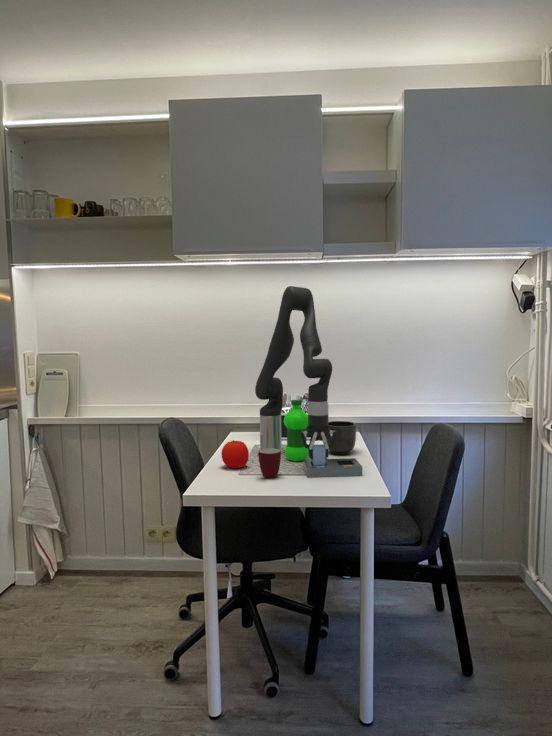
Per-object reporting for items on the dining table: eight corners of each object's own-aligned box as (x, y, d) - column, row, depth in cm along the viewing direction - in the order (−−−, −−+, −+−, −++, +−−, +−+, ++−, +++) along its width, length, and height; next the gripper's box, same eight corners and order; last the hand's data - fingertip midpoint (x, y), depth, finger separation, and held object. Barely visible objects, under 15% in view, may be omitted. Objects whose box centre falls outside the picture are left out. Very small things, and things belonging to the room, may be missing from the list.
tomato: (250, 463, 200) (249, 437, 200) (247, 471, 190) (246, 443, 189) (224, 463, 201) (223, 437, 200) (219, 471, 191) (219, 443, 190)
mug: (261, 472, 187) (261, 446, 186) (283, 473, 186) (282, 446, 185) (257, 481, 177) (256, 453, 176) (279, 481, 176) (279, 453, 175)
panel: (307, 479, 178) (307, 467, 178) (303, 470, 190) (303, 459, 190) (362, 477, 179) (362, 466, 179) (355, 468, 191) (355, 457, 191)
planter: (328, 448, 225) (328, 420, 224) (359, 450, 220) (359, 421, 219) (320, 455, 212) (320, 425, 211) (352, 458, 207) (352, 427, 206)
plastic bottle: (302, 465, 197) (301, 402, 195) (279, 462, 203) (278, 401, 201) (314, 459, 205) (313, 399, 204) (292, 456, 211) (291, 398, 209)
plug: (313, 474, 182) (313, 447, 181) (311, 471, 187) (311, 444, 186) (325, 474, 182) (325, 447, 182) (323, 470, 187) (323, 444, 186)
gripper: (299, 415, 179) (300, 462, 180) (339, 414, 180) (339, 460, 181) (297, 411, 186) (298, 456, 187) (335, 411, 187) (335, 455, 188)
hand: (318, 458), depth 184 cm, fingers closed on plug, 4 cm apart
